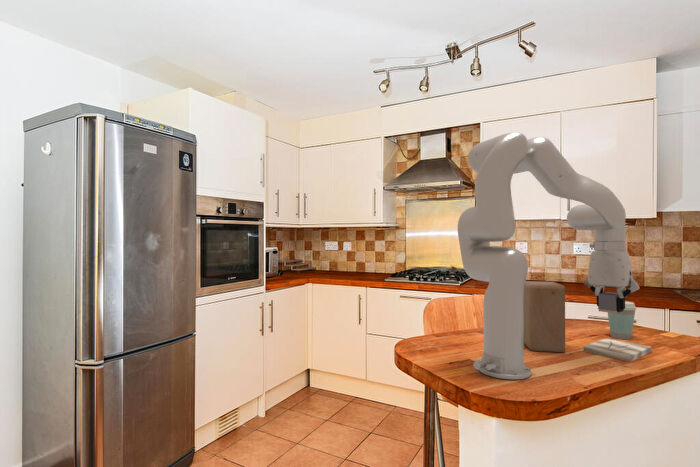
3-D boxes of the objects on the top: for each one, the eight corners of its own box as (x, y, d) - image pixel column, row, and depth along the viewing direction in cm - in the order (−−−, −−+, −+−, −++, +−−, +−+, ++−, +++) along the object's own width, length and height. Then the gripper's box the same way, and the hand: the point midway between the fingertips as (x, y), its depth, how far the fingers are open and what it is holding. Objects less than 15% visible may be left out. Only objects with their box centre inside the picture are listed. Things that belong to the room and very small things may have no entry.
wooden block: (566, 353, 112) (566, 285, 112) (530, 351, 114) (529, 284, 114) (555, 344, 122) (555, 281, 122) (521, 342, 124) (521, 280, 124)
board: (630, 361, 104) (630, 356, 104) (583, 351, 114) (583, 346, 114) (651, 351, 114) (651, 346, 114) (606, 342, 123) (606, 338, 124)
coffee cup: (635, 336, 132) (635, 301, 132) (637, 341, 125) (637, 305, 125) (605, 332, 136) (605, 299, 137) (606, 338, 129) (606, 302, 129)
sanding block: (614, 313, 108) (614, 295, 108) (598, 311, 111) (598, 293, 111) (622, 310, 111) (622, 293, 111) (607, 308, 115) (607, 292, 115)
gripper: (573, 247, 116) (574, 307, 116) (639, 248, 102) (640, 316, 102) (584, 246, 120) (585, 304, 120) (649, 247, 107) (650, 313, 107)
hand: (610, 309), depth 111 cm, fingers closed on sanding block, 4 cm apart
